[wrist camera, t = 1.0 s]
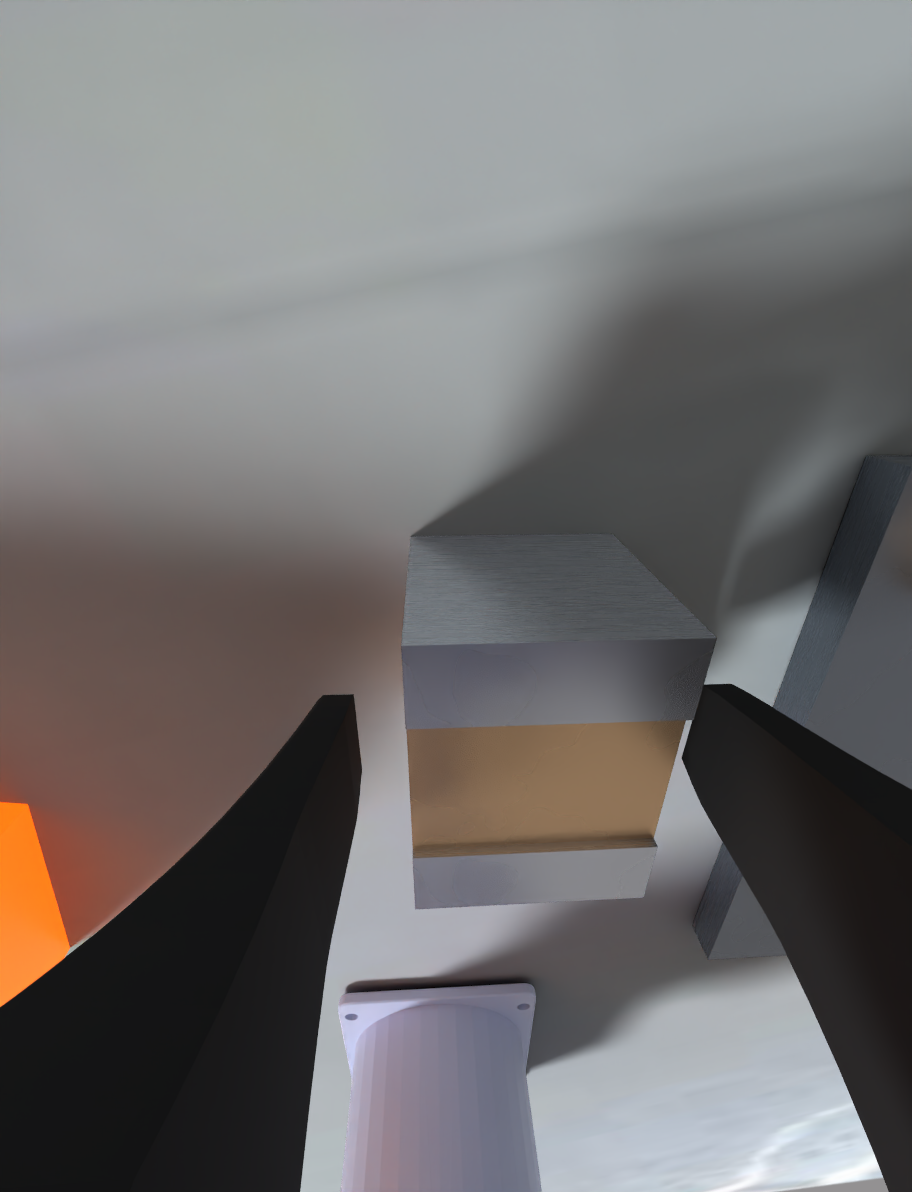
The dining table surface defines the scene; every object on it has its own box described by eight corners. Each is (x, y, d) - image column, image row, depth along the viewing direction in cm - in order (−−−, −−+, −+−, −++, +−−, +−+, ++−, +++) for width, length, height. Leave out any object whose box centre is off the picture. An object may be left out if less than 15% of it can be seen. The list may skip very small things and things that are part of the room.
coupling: (580, 737, 15) (643, 897, 10) (418, 743, 14) (415, 909, 10) (611, 533, 12) (717, 637, 8) (410, 535, 12) (401, 646, 7)
